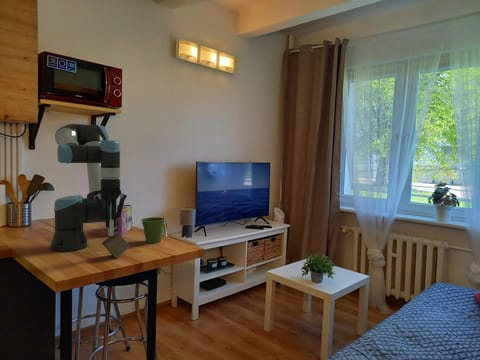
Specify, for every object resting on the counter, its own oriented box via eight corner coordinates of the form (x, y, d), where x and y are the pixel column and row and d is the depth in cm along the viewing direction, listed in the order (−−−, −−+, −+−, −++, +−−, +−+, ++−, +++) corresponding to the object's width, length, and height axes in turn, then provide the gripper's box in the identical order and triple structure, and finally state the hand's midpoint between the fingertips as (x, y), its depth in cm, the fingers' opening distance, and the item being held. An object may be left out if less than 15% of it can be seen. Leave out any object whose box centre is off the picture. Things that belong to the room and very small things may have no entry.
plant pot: (159, 237, 180) (159, 216, 179) (169, 242, 170) (169, 219, 169) (137, 240, 172) (137, 218, 172) (146, 245, 163) (146, 222, 162)
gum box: (121, 236, 181) (121, 210, 180) (105, 236, 180) (105, 210, 180) (132, 227, 205) (131, 204, 204) (118, 227, 204) (118, 204, 203)
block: (114, 231, 147) (125, 243, 150) (101, 243, 144) (111, 254, 147) (120, 234, 142) (130, 246, 145) (106, 246, 139) (116, 258, 142)
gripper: (95, 179, 135) (96, 239, 136) (129, 178, 142) (129, 235, 144) (91, 178, 141) (92, 235, 142) (123, 177, 148) (123, 231, 150)
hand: (110, 235), depth 143 cm, fingers closed
